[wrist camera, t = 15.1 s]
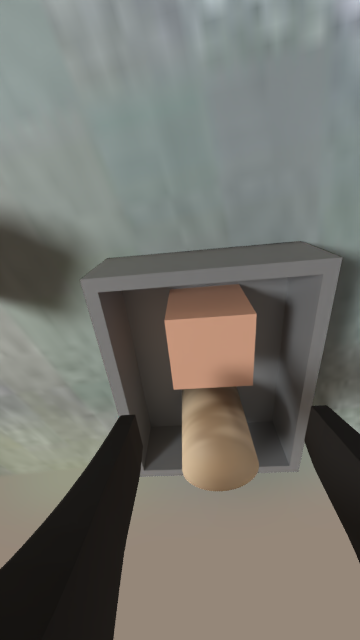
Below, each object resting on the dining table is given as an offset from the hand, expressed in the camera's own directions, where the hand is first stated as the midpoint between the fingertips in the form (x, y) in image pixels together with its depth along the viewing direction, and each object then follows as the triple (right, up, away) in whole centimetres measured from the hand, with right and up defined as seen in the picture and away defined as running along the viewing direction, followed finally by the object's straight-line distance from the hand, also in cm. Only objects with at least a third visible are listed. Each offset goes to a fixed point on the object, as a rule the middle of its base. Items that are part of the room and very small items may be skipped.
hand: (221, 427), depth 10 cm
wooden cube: (0, +5, +9) cm, 10 cm away
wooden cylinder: (+1, -2, +12) cm, 12 cm away
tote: (+1, +2, +11) cm, 11 cm away
